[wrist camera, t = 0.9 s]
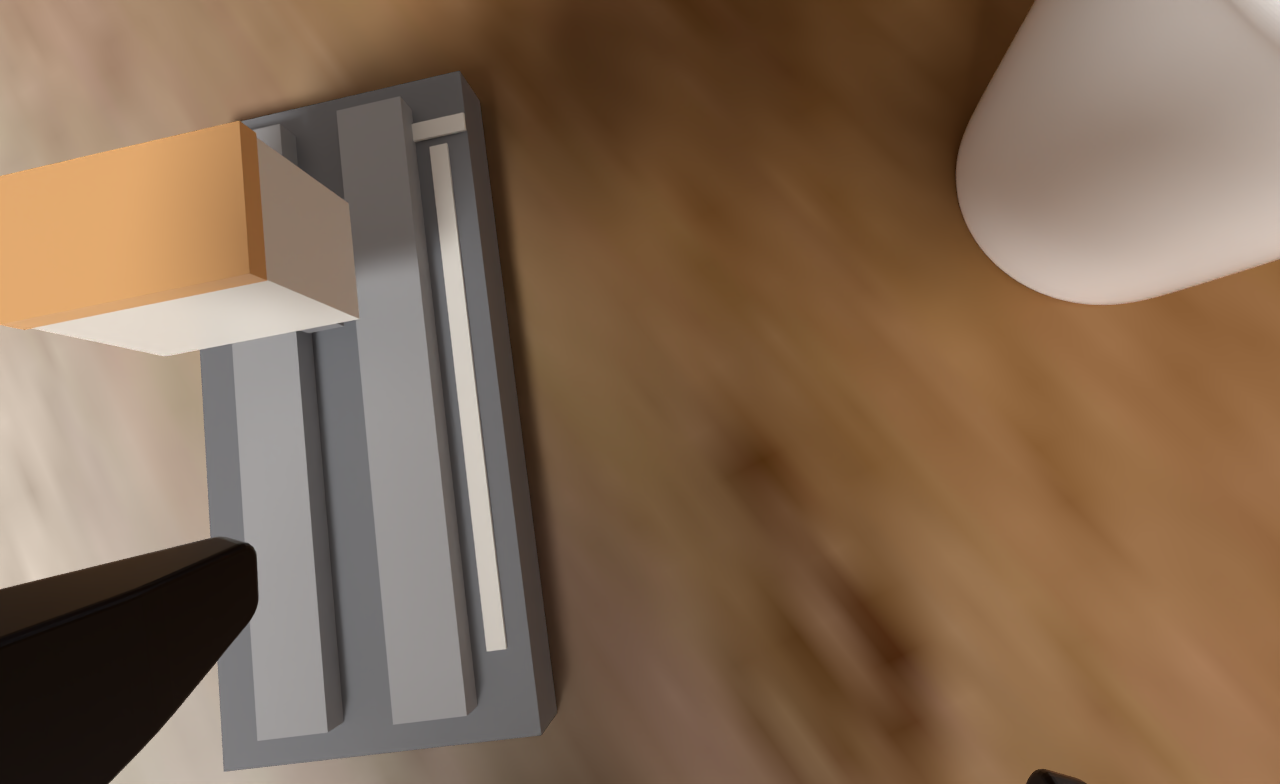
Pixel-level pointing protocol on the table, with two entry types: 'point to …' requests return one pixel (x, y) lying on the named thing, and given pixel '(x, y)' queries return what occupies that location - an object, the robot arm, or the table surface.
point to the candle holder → (1128, 148)
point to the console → (383, 462)
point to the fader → (175, 245)
